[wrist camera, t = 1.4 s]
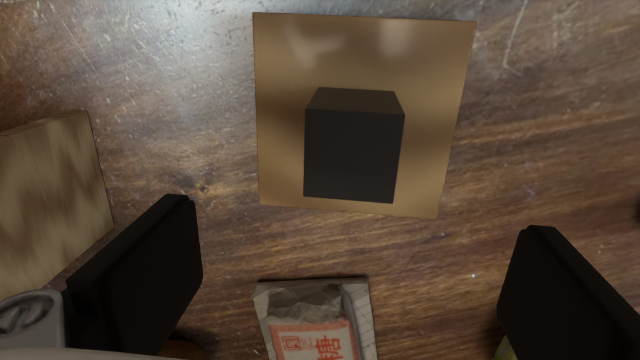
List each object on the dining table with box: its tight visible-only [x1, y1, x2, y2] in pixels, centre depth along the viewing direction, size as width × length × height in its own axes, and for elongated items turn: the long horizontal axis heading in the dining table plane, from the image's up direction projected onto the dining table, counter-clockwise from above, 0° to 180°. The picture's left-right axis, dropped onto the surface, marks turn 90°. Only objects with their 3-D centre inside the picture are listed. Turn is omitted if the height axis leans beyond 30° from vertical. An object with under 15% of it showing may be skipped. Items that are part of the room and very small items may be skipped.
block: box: [303, 87, 406, 204], centre depth 19 cm, size 4×4×6 cm
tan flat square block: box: [252, 12, 477, 219], centre depth 23 cm, size 12×12×3 cm
